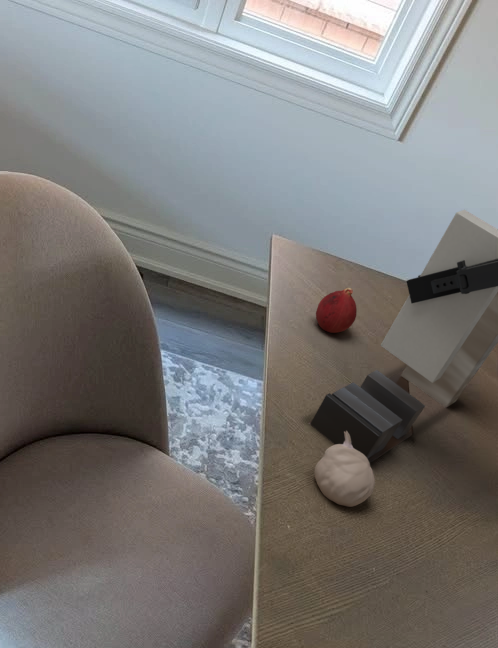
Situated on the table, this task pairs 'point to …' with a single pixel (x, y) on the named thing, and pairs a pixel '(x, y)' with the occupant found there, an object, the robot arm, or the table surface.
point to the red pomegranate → (336, 311)
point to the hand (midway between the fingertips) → (416, 288)
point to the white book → (445, 301)
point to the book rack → (401, 396)
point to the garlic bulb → (345, 474)
